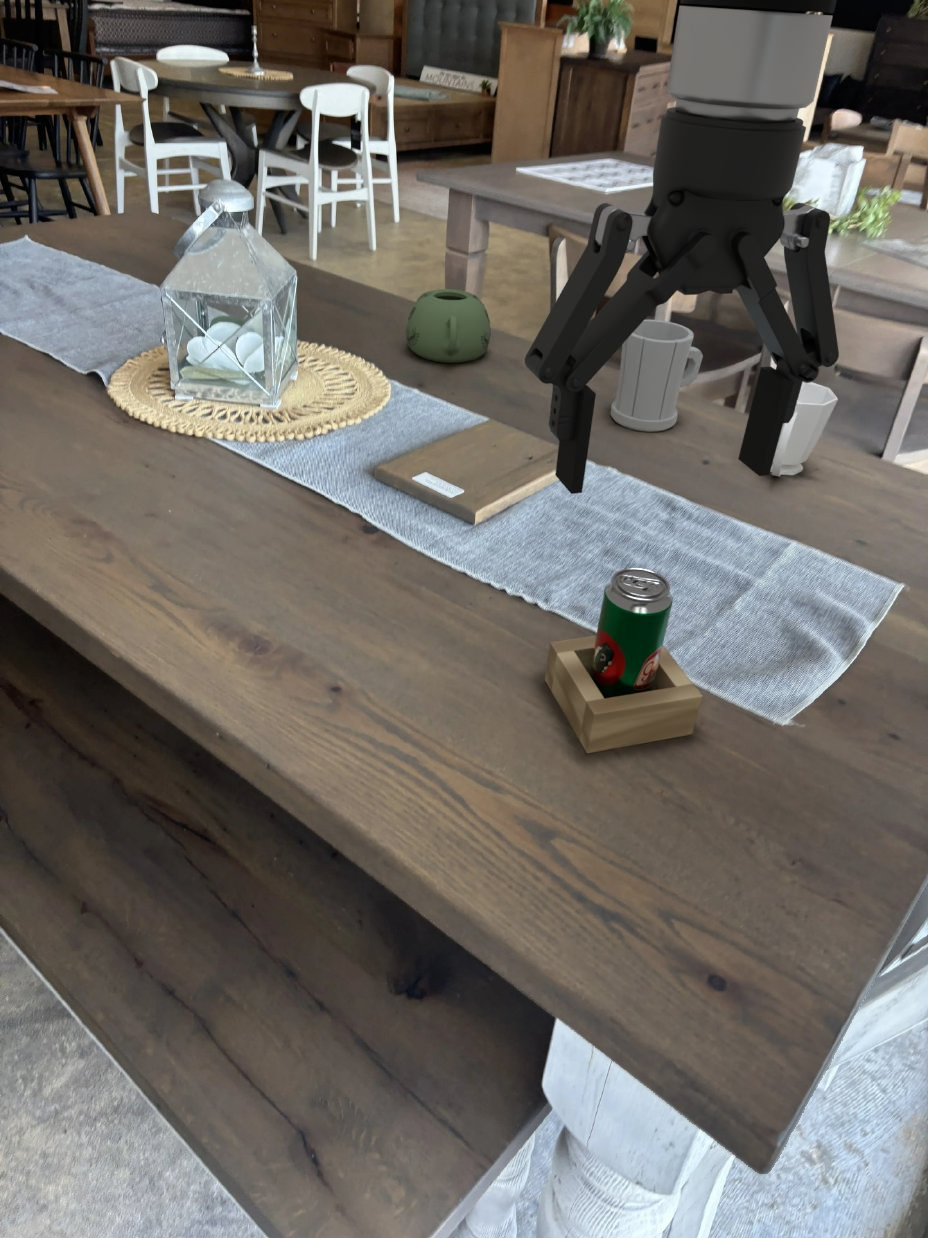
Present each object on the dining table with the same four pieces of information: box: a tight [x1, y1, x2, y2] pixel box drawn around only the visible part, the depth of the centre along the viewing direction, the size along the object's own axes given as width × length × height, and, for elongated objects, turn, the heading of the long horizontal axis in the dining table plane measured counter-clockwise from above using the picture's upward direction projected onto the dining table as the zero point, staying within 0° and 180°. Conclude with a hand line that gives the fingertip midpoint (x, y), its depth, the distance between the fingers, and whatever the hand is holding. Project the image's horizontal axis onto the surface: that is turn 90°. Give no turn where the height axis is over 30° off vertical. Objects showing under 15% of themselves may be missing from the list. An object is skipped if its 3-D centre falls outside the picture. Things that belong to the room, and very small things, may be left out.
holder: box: [544, 635, 703, 754], centre depth 72 cm, size 9×9×4 cm
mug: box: [405, 288, 492, 364], centre depth 135 cm, size 16×13×9 cm
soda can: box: [590, 567, 674, 699], centre depth 70 cm, size 5×5×12 cm
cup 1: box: [610, 319, 704, 433], centre depth 119 cm, size 10×9×12 cm
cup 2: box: [770, 381, 839, 478], centre depth 108 cm, size 8×12×10 cm
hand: (663, 475), depth 60 cm, fingers open, 13 cm apart
